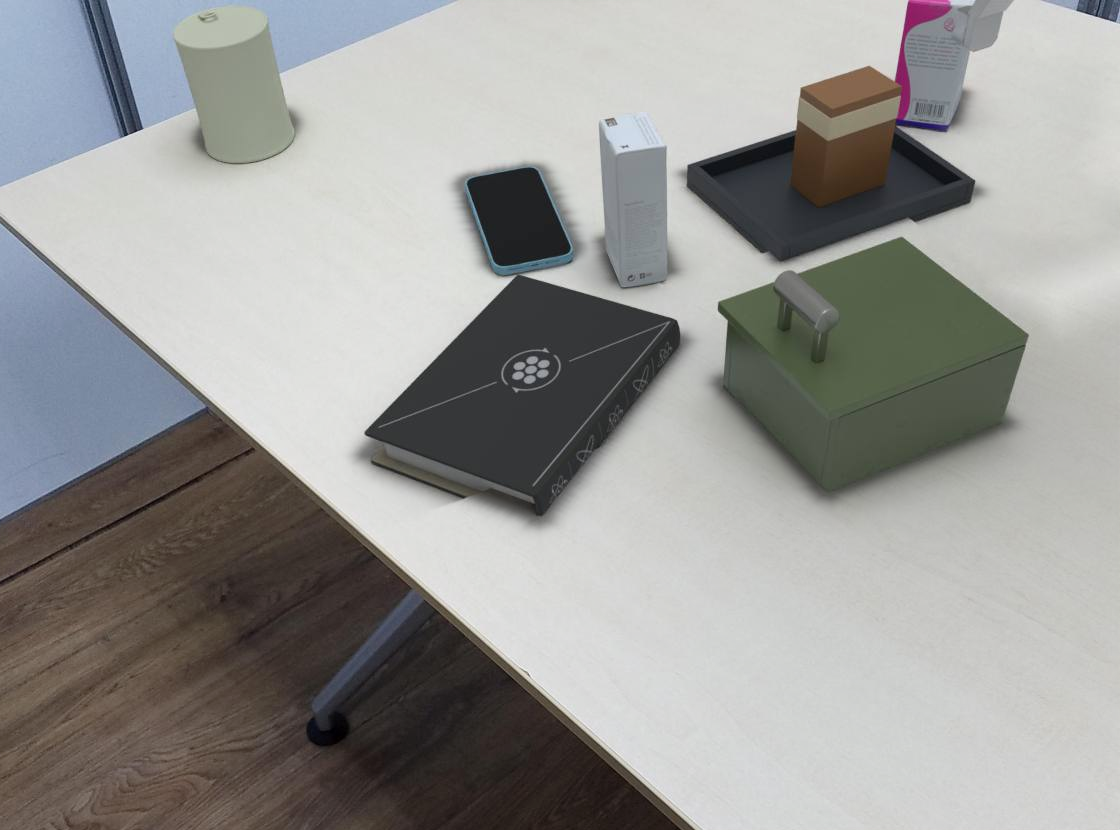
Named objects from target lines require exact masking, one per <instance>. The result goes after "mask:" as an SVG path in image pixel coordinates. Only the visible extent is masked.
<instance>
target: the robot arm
mask: <svg viewBox="0 0 1120 830" xmlns="http://www.w3.org/2000/svg"><path fill="white" fill-rule="evenodd" d="M1014 1H1015V0H976V1H975V2H974V4H973V5H972V6H965V7H961V8H958V9H957V12H956V17H955V29H954V30H953V32H952V39H953V40H954V41H955V42H957V43H958V44H960V45H962V46H964V47H965V48H967V49H968V50H970V52H972V53H975V52H978V51H981V50H985V49H987V48H991V47H992V46H993V45H994V44H995V43H996V42H997V40H998V37H999V33H1000V29H1001V24H1002V19H1003V16H1004V12H1007V10H1008V9H1009V7H1010V6H1011V5H1012V4H1013V3H1014Z"/></svg>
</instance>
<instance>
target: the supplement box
mask: <svg viewBox="0 0 1120 830" xmlns="http://www.w3.org/2000/svg"><path fill="white" fill-rule="evenodd" d="M975 1H976V0H908V1H907V4H906V10H905V17H904V22H903V30H902V34H901V40H900V47H899V53H898V58H897V64H896V65H897V66H896V70H895V77H894V81H895V82H896V83H898V84H899V85H901V86H902V89H901V98H900V104H899V110H898V115H897V118H896V123H895V125H898V126H906V127H912V128H913V127H914V128H921V129H929V130H935V131H944V132H948V130H949V129H950V126H951V124H952V121H953V119H954V117H955V116H956V115H955V114H956V113H957V111H958V109H959V106H960V104H961V97H962V92H963V88H964V83H965V77H966V73H967V69H968V68H967V67H968V63H969V60H970V59H969V57H970V53H971V51H970V50H968V49H967V48H965V47H964V46H962V45H960V44H958V43H957V42H955V41H954V40H953V39H952V32H953V30H954V29H955V17H956V12H957V9H958V8H961V7H965V6H972V5H973V4H974V2H975Z"/></svg>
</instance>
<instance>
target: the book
mask: <svg viewBox="0 0 1120 830" xmlns="http://www.w3.org/2000/svg"><path fill="white" fill-rule="evenodd" d="M680 342H681V329H680V325H679V322H678V320H677V319H675V318H673V317H669V316H666V315H663V314H659V313H655V312H652V311H649V310H645V309H641V308H638V307H634V306H631V305H627V304H624V303H620V302H616V301H614V300H610V299H606V298H604V297H603V298H602V297H599V296H596V295H592V294H589V293H586V292H582V291H578V290H574V289H571V288H568V287H565V286H560V285H557V284H553V283H550V282H547V281H544V280H539V279H537V278H532V277H529V276H525V275H522V274H516V275H515V276H514V278H512V280H510V282H509V283H508V284H507V285H506V286H504V287H503V289H502V290H501V291H500V292H499V293H498V294H497V295H496V296H495V297H494V298H493V299H492V300H491V301H490V302H489V303H488V304H487V305H486V306H485V307H484V308H483V309H482V310H481V311H480V312H479V313H478V315H477V316H475V317H474V318H473V320H471V322H470V323H469V324H468V325H466V327H465V328H464V329H463V330H462V331H461V332H460V333H459V334H458V335H457V336H456V337H455V338H454V339H453V340H452V341H451V342H450V343H449V344H448V345H447V346H446V347H445V349H443V351H442V352H440V353H439V354H438V355H437V356H436V358H435V359H434V360H433V361H431V363H430V364H428V366H427V367H426V368H425V369H424V370H423V371H422V372H421V373H420V374H419V375H418V376H417V377H416V379H414V380H413V381H412V382H411V383H410V384H409V385H408V387H406V388H405V390H403V391H402V393H400V395H399V396H398V397H397V398H395V399H394V401H392V403H390V405H389V406H388V407H387V408H386V409H385V410H384V411H383V412H382V413H381V414H380V415H379V416H378V417H377V419H375V420H374V421H373V422H372V423H371V424H370V425H369V426H368V428H366V429H365V431H364V436H365V437H368V438H371V439H374V440H376V441H378V442H382V443H384V445H383V446H382V447H381V448H380V449H379V450H378V451H377V452H376V453H375V455H373V456H372V458H371V459H370V462H371V464H373V465H376V466H378V467H381V468H383V469H386V470H389V471H392V472H394V473H397V474H400V475H403V476H405V477H407V478H410V479H413V480H415V481H418V482H421V483H423V484H426V485H429V486H432V487H434V488H437V489H439V490H442V491H444V492H447V493H450V494H453V495H455V496H457V497H460V498H462V499H467V498H470V497H472V496H474V495H477V494H480V493H483V492H485V491H488V490H491V489H493V490H496V491H499V492H500V493H503V494H506V495H509V496H512V497H515V498H517V499H519V500H523V501H525V502H528V503H530V504H533V505H534V506H535V516H539V517H541V516H544V514H545V513H546V512H547V511H548V509H549V508H550V507H551V505H552V504H553V503H554V502H555V501H556V499H557V498H558V497H559V495H560V494H561V493H562V491H563V490H564V489H565V488H566V487H567V485H568V484H569V483H570V482H571V480H572V479H573V478H574V476H575V475H576V474H577V472H578V471H579V470H580V468H581V467H583V466H584V464H585V462H586V461H587V460H588V459H589V457H590V456H591V455H592V454H593V452H594V451H595V450H597V449H598V448H599V447H600V446H601V445H602V444H603V442H604V441H605V440H606V439H607V437H608V436H609V435H610V434H611V432H612V431H613V429H615V427H616V426H617V424H618V423H619V422H620V421H621V419H622V418H623V417H624V415H625V414H626V413H627V412H628V411H629V409H630V408H631V406H633V404H634V403H635V401H636V400H637V399H638V398H639V396H640V395H641V394H642V393H643V392H644V390H645V389H646V388H647V386H648V385H649V384H650V382H651V381H652V380H653V379H654V378H655V376H656V375H657V373H659V371H660V370H661V369H662V368H663V366H664V365H665V363H666V362H667V361H668V360H669V358H670V357H671V356H672V354H673V353H674V352H675V351H676V350H677V348H678V347H679V346H680Z"/></svg>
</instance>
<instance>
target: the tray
mask: <svg viewBox="0 0 1120 830" xmlns="http://www.w3.org/2000/svg"><path fill="white" fill-rule="evenodd" d="M795 136H796V129H795V130H791V131H788V132H785V133H782V134H780V135H776V136H773V137H769V138H766V139H764V140H761V141H757V142H755V143H754V142H753V143H751V144H748V145H745V146H741V147H738V148H735V149H732V150H729V151H725V152H723V153H720V154H717V155H714V156H710V157H708V158H705V159H704V158H703V159H701V160H697V161H695V162H692V163H689V164H687V167H686V168H687V169H686V187H688V188H689V189H690V191H692V192H693V193H694V194H696V195H697V196H698V197H699V198H700V199H701V200H702V201H703V202H704V203H706V205H708V206H709V207H710V208H711V209H712V210H713V211H714V212H715V213H716V214H718V215H719V216H720V217H721V218H722V219H723V220H724V221H726V223H728V224H729V225H730V226H731V227H732V228H734V230H736V231H737V232H738V234H740V235H742V237H743V238H745V239H746V240H747V241H748V242H749V243H750V244H751V245H752V246H753V247H755V248H756V249H757V250H758V251H759V252H760V253H762V254H765V253H768V252H769V253H770V254H771V255H773V257H775V258H776V259H777V260H778V261H779V262H783V261H786V260H789V259H792V258H795V257H798V256H801V255H804V254H807V253H809V252H813V251H815V250H818V249H821V248H824V247H826V246H831V245H832V244H835V243H838V242H841V241H844V240H847V239H850V238H853V237H855V236H856V237H857V236H858V235H861V234H864V233H867V232H870V231H873V230H876V229H878V228H881V227H884V226H887V225H890V224H892V223H895V222H898V221H901V220H905V219H907V218H908V219H909V220H911V221H912V222H913V223H915V222H918V221H921V220H923V219H926V218H929V217H932V216H935V215H938V214H941V213H944V212H946V211H949V210H952V209H955V208H958V207H961V206H964V205H966V204H970V203H971V201H972V198H973V197H972V196H973V195H974V194H973V193H974V189H975V185H976V180H975V179H974V178H972V177H971V176H970V175H968V174H967V173H966V172H964V171H962V169H959V168H958V167H956V166H955V165H953V164H952V163H951V162H949V161H948V160H946V159H945V158H944V157H942V156H940V155H939V154H938V153H936V152H935V151H933V150H932V149H930V148H929V147H927V146H926V145H925V144H923V143H921V142H920V141H918V140H917V139H915V138H914V137H912V136H911V135H910V134H908V133H906V132H905V131H904V130H902V129H901V128H899V127H898V126H896V125H895V129H894V134H893V140H892V146H891V151H890V157H889V163H888V168H887V174H886V180H885V185H882V186H879V187H877V188H874V189H871V190H868V191H865V192H862V193H859V194H857V195H854V196H851V197H848V198H845V199H842V200H839V201H836V202H834V203H831V204H828V205H825V206H822V207H818V206H816V205H815V204H814V203H813V202H811V201H810V200H809V199H807V198H806V197H805V196H804V195H802V194H801V193H800V192H799V191H797V190H796V189H795V188H793V187H792V186H791V185H790V181H791V172H792V163H793V154H794V145H795Z"/></svg>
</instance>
